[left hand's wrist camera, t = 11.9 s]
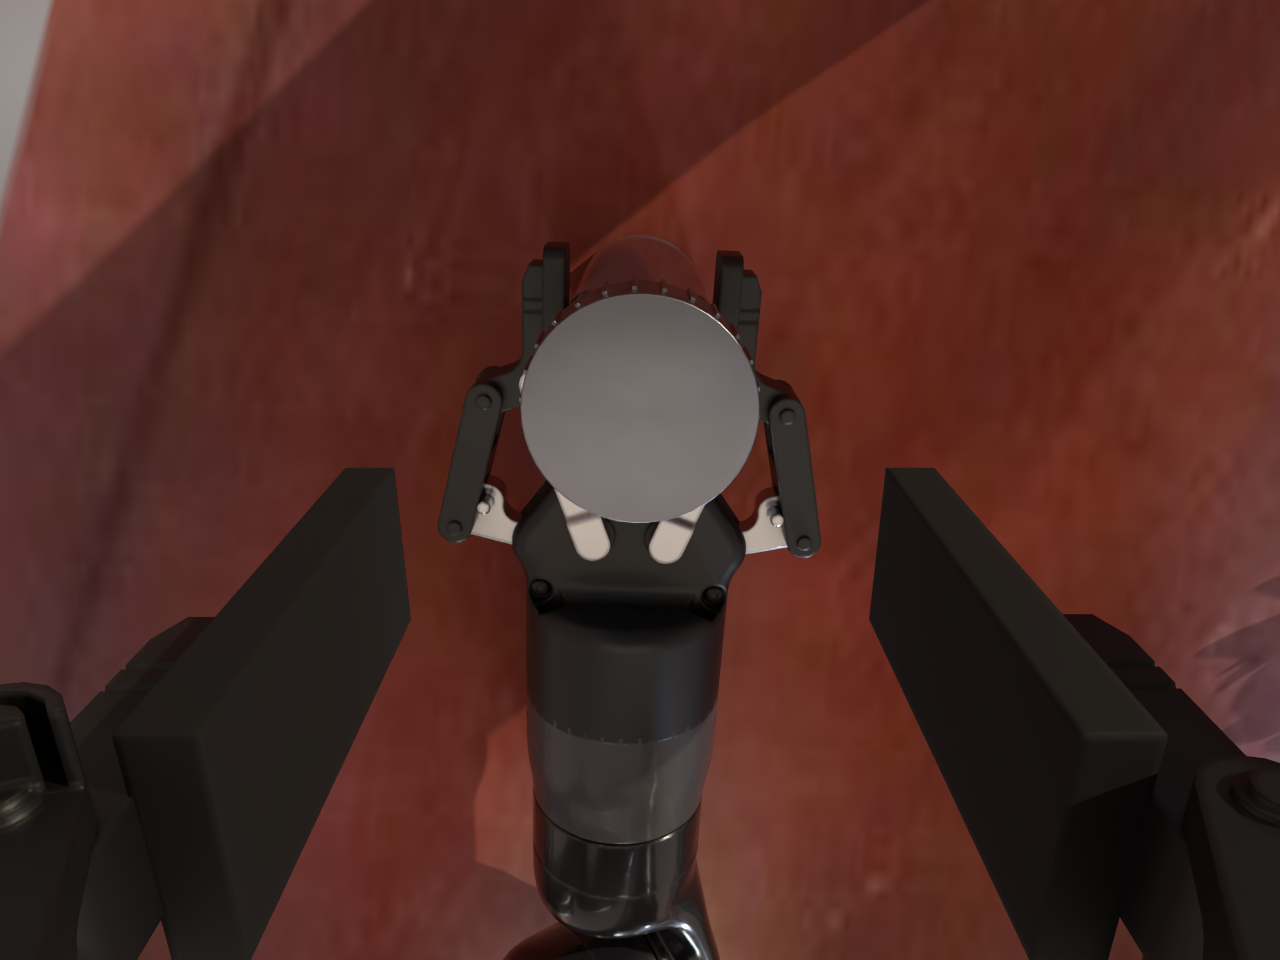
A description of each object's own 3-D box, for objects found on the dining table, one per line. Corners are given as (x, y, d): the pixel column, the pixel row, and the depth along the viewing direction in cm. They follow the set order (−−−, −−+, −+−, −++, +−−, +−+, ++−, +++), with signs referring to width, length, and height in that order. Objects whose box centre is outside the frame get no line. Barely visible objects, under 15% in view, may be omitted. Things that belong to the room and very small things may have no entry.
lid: (562, 244, 21) (556, 255, 19) (787, 319, 22) (800, 337, 20) (501, 458, 23) (489, 486, 21) (708, 520, 24) (714, 553, 22)
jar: (599, 217, 34) (570, 276, 20) (719, 257, 35) (773, 343, 21) (563, 337, 36) (513, 470, 22) (678, 373, 36) (702, 526, 22)
